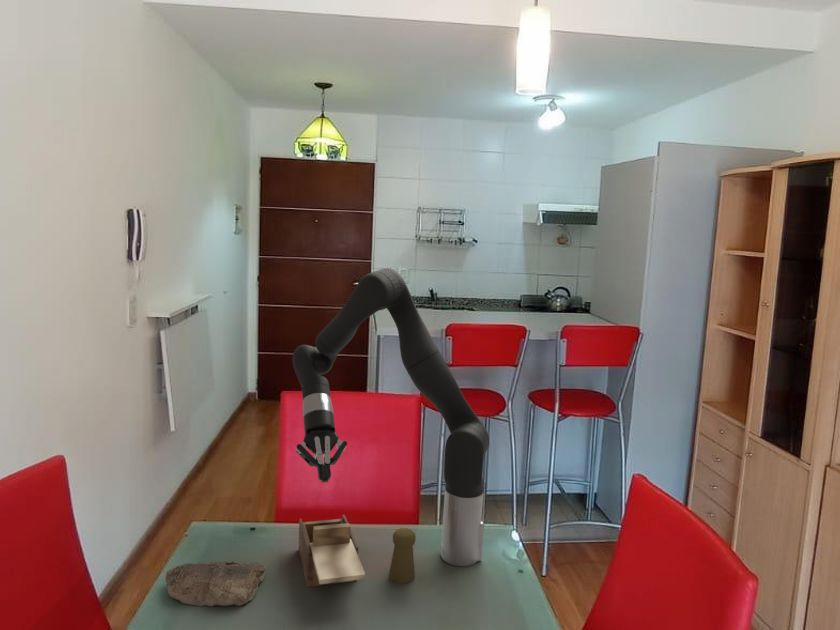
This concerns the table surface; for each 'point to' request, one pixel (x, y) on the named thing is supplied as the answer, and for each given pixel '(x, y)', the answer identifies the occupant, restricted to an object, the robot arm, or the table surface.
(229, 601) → the clay tablet
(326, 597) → the table surface
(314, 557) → the cover plate
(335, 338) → the robot arm
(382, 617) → the table surface
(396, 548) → the tan pawn
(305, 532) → the lid box
